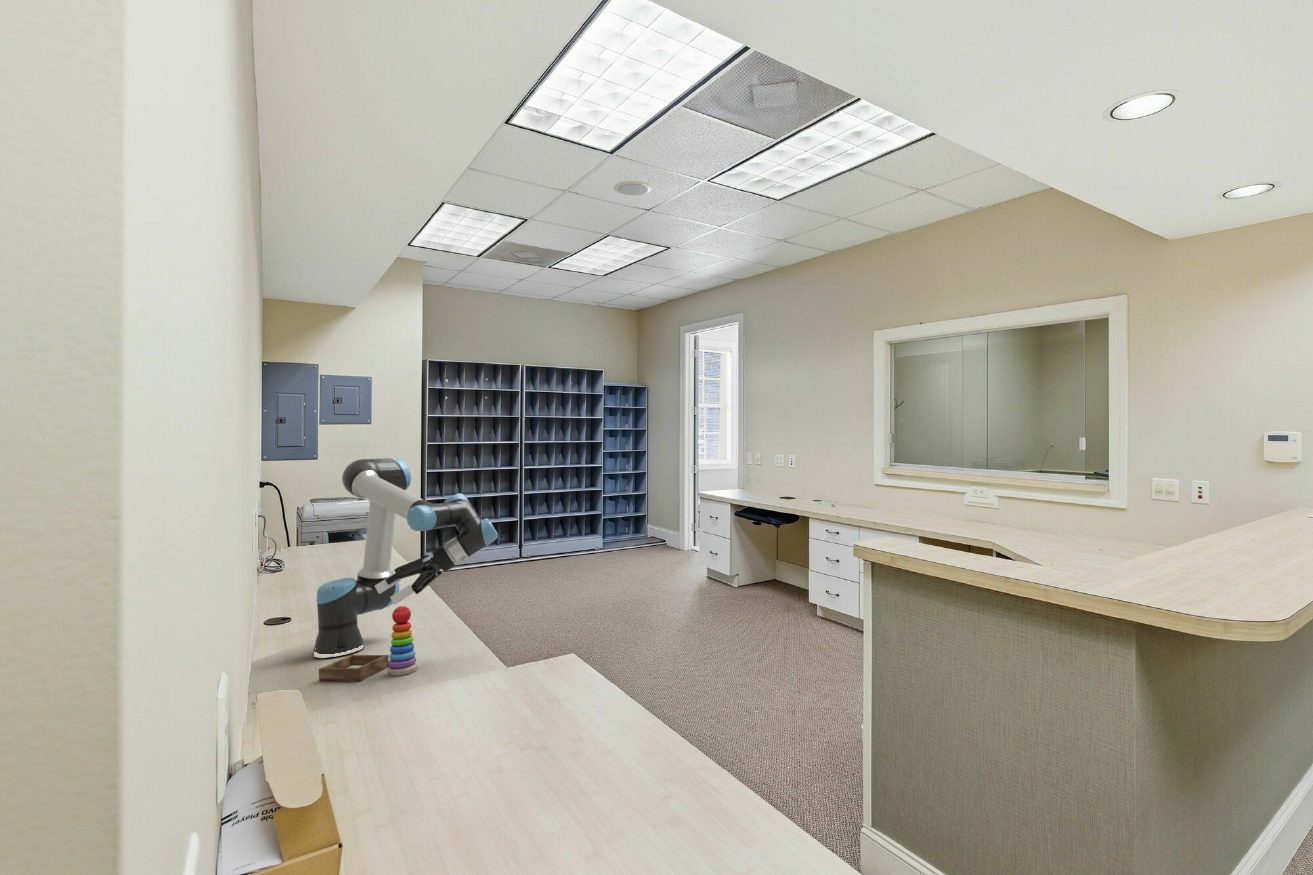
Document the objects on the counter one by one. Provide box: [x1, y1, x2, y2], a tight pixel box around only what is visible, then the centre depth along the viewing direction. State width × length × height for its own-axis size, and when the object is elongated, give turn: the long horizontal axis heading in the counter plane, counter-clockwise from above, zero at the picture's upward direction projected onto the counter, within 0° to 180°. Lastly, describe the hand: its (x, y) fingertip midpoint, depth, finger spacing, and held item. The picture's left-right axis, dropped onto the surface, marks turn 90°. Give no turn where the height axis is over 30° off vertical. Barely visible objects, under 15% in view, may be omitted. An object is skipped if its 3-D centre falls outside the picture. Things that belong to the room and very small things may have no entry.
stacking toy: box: [387, 605, 418, 677], centre depth 180 cm, size 8×8×19 cm
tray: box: [318, 654, 390, 683], centre depth 181 cm, size 13×13×4 cm
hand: (384, 595), depth 185 cm, fingers open, 13 cm apart
